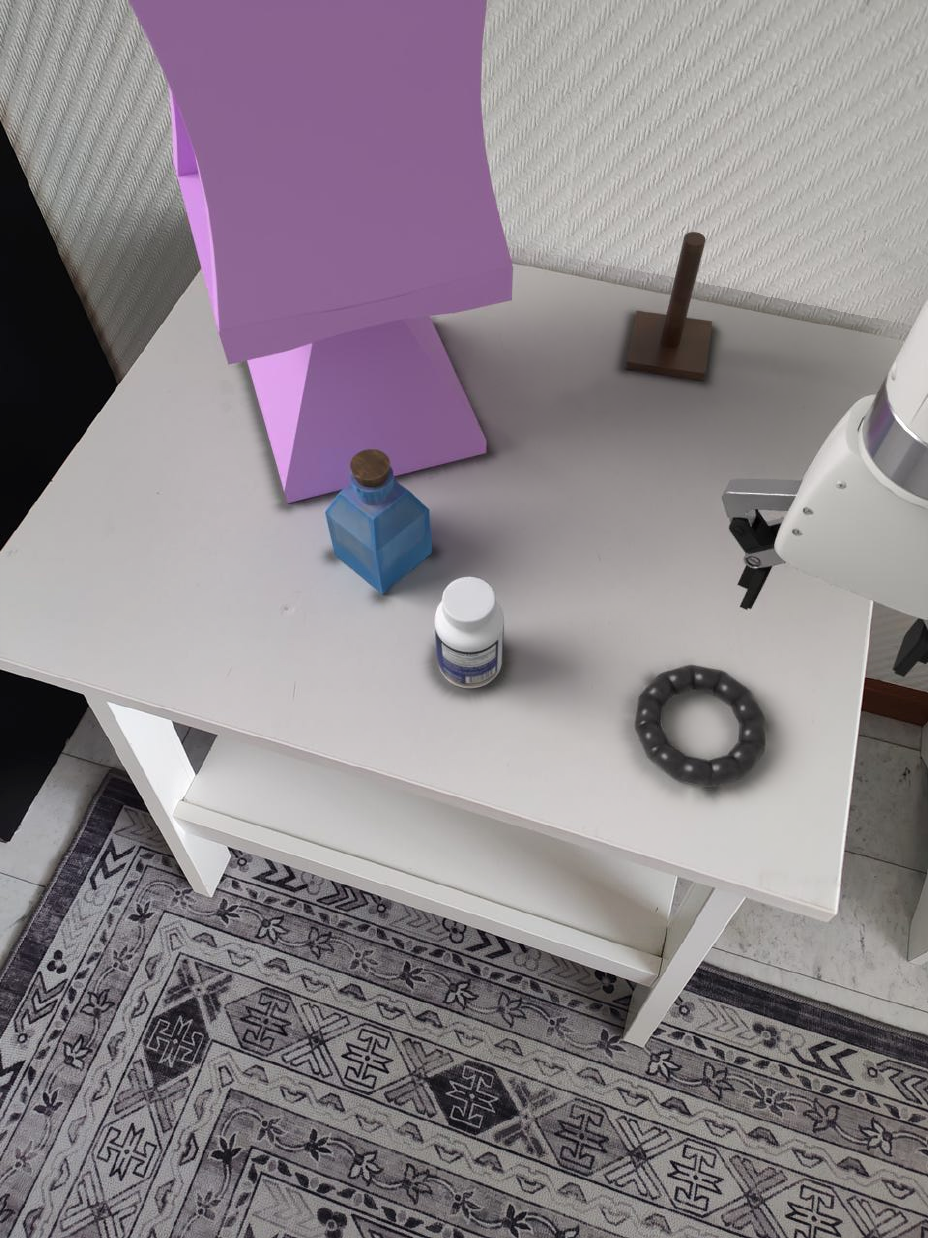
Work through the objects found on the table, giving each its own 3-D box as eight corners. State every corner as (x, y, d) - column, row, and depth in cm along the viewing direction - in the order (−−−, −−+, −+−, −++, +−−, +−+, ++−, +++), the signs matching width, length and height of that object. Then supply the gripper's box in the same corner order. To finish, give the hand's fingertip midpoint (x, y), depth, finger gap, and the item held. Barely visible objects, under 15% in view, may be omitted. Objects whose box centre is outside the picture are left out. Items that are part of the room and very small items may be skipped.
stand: (710, 328, 94) (741, 217, 83) (703, 380, 90) (735, 271, 79) (635, 317, 95) (656, 206, 84) (625, 368, 91) (646, 259, 80)
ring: (765, 686, 72) (772, 675, 70) (757, 802, 67) (765, 792, 65) (642, 663, 73) (646, 651, 72) (626, 774, 68) (630, 764, 67)
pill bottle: (452, 625, 75) (449, 558, 67) (511, 645, 74) (516, 581, 66) (427, 677, 73) (420, 615, 64) (487, 699, 72) (489, 639, 63)
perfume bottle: (432, 552, 79) (426, 462, 69) (382, 594, 77) (368, 508, 67) (384, 515, 82) (371, 422, 71) (334, 555, 79) (314, 465, 69)
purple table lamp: (232, 357, 93) (61, -210, 54) (436, 311, 96) (410, -253, 58) (275, 518, 82) (99, -53, 43) (504, 459, 85) (530, -117, 47)
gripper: (1168, 445, 40) (981, 636, 55) (796, 320, 44) (716, 528, 59) (1144, 565, 37) (952, 734, 51) (745, 417, 41) (673, 611, 56)
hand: (826, 623), depth 55 cm, fingers open, 9 cm apart
